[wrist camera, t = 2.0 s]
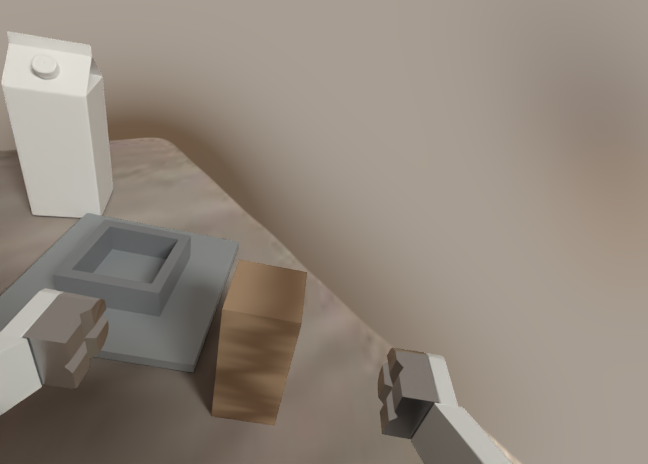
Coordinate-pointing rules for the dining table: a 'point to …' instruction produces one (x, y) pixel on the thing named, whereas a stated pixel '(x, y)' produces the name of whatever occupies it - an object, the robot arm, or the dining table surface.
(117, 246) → the socket base
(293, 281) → the walnut block
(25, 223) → the dining table surface
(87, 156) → the milk carton
